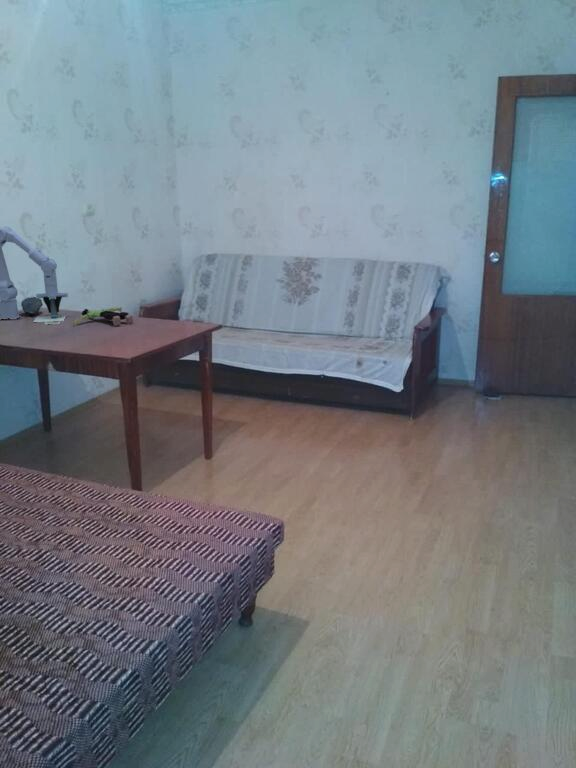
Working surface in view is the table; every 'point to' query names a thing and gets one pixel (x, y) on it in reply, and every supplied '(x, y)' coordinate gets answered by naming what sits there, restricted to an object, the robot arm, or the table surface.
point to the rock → (31, 305)
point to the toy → (106, 315)
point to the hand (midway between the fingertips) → (53, 312)
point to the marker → (53, 308)
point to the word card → (51, 323)
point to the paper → (48, 319)
